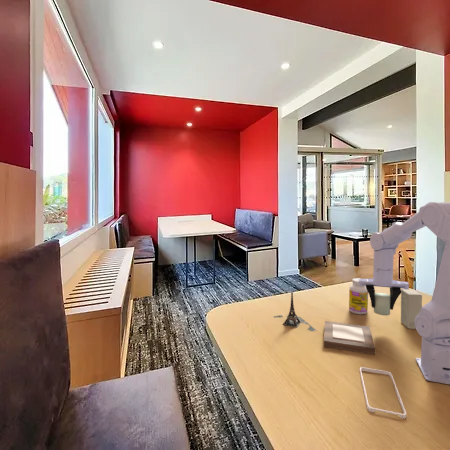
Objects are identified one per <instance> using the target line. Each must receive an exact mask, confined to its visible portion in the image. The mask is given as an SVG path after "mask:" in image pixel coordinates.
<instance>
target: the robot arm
mask: <svg viewBox="0 0 450 450" xmlns="http://www.w3.org/2000/svg"><path fill="white" fill-rule="evenodd" d="M425 227H426V228H427V229H429V230H430V231H431V232H432V233H433V234H434V235H435V236H436V237H437V238H438V239H439V240H442V241H443V242H444V243H445V245H444V250H443V253H442V256H441V261H440V265H439V269H438V272H437V277H436V281H435V284H434V289H433V292H432V295H431V296H432V297H431V300H430V301H428V302H427V303H425V304H423V305H422V307H421V310H420V313H419V314H418V315H417V316H416V317H415V327H416V329H415V330H416V332H417V333H418V335H419V336H420V337H421V352H420V354H421V355H420V357H415V361H416V363H417V365H418V367H419V369H420V372H421V373H422V375H423V377H424V379H425V380H426V381H428V382H434V383H441V384H447V385H450V201H447V202H444V201H442V202H436V201H429V202H428V203H425V205H423V206H420V207H419V210H418V211H417V212H416V213H414V214H413V215H412V216H410V217H409V218H408V219H407V220H406V221H404V222H403V221H401V222H400V221H394V222H392V223H391V226H388V227H387V228H384V229H383V230H382V231H381V232H373V233H371V236H370V239H369V242H370V247H371V248H372V249H373V264H372V265H373V270H372V271H373V272H372V275H373V277H372V278H360V279H359V283H358V284H359V286H362V285H365V286H366V289H367V291H368V297H369V298H370V304H371V307H372V309H374V308H375V302H374V296H375V293H376V290H375V287H379V288H380V287H381V288H389V295H390V296H391V301H390V311H393V310H394V307H395V304H396V301H397V300H398V298H399V296H401V289H407V290H409V289H410V288H409V287H410V286H409V285H410V283H409V282H408V281H400V280H395V279H394V257H395V256H396V255H395V254H396V252H397V251H396V250H397V249H398V247H399V245H400V244H401V243H403V242H405V241H407V240H409V239H410V238H411V237H412V234H413V233H414V232H416V231H418V230H420V229H423V228H425Z"/></svg>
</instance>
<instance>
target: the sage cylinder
mask: <svg viewBox="0 0 450 450" xmlns="http://www.w3.org/2000/svg"><path fill="white" fill-rule="evenodd" d="M390 301H391V296H390V294H388V293H384V292H375V296H374V302H375V308H373V313H375V314H376V315H380V316H390V315H391V309H390Z"/></svg>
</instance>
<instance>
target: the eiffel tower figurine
mask: <svg viewBox="0 0 450 450" xmlns="http://www.w3.org/2000/svg"><path fill="white" fill-rule="evenodd" d="M290 295H291V296H290V307H289V313H288V314H287V315H286V319H285V320H284V322H283V323H282V325H283V326H287V327H291V328H295V329H298V327H299V326H300V325H301V324H304V325H307V326H309V327H308V328H307V331H310V332H315V331H317V329H315V328H314V326H312V325H311V324H310V323H308V322H307V321H306V320H305V319H303V318H302V317H301V316H298V315H297V313H296V311H295V306H294V292H293V291H291V292H290ZM279 316H280V317H279ZM273 318H275V319H276V318H284V316H283V315H282V314H281V315H273Z"/></svg>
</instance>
